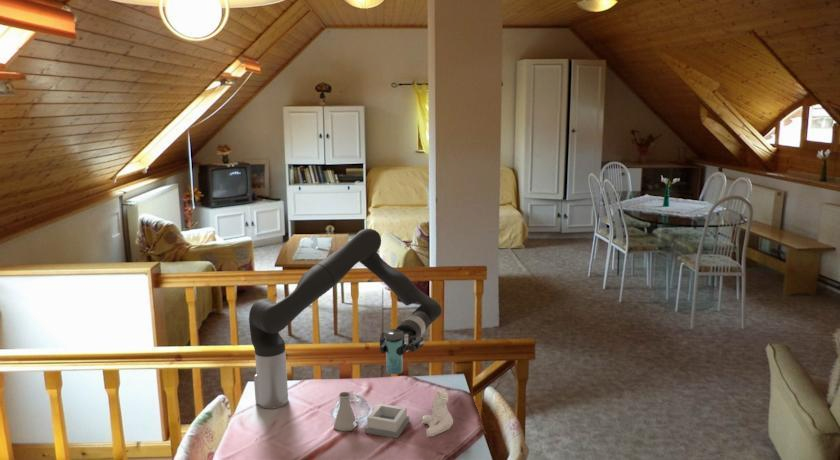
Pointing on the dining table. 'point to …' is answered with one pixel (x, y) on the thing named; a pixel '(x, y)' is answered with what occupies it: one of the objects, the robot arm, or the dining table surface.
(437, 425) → the seated beast figurine
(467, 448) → the dining table surface
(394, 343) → the teal capped jar
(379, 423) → the dock
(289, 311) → the robot arm
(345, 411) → the flask
